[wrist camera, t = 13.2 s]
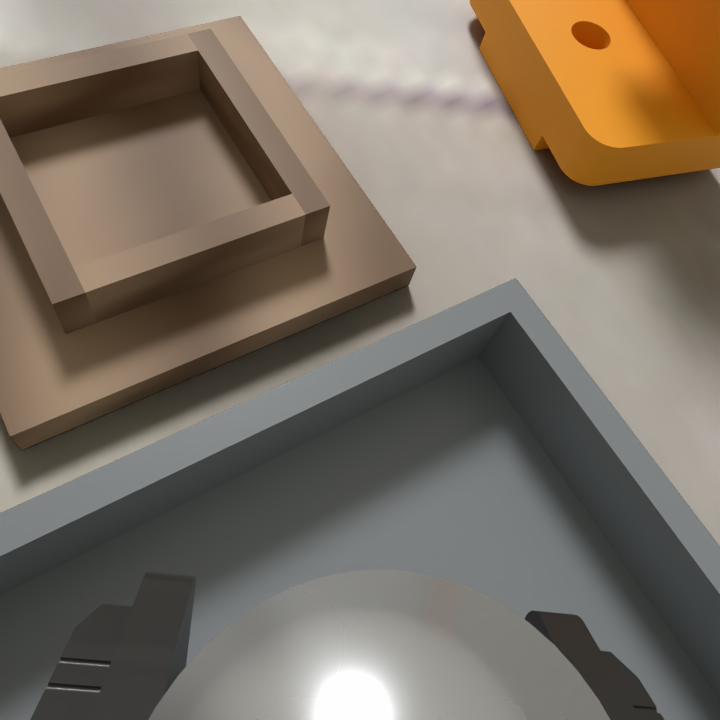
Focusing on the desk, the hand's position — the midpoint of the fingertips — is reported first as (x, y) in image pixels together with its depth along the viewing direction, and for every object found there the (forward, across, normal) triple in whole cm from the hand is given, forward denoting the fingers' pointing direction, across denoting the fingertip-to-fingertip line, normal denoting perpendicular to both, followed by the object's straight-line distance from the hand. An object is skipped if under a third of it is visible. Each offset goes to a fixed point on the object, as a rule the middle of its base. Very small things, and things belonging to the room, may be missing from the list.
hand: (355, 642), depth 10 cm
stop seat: (+13, +6, -5) cm, 15 cm away
